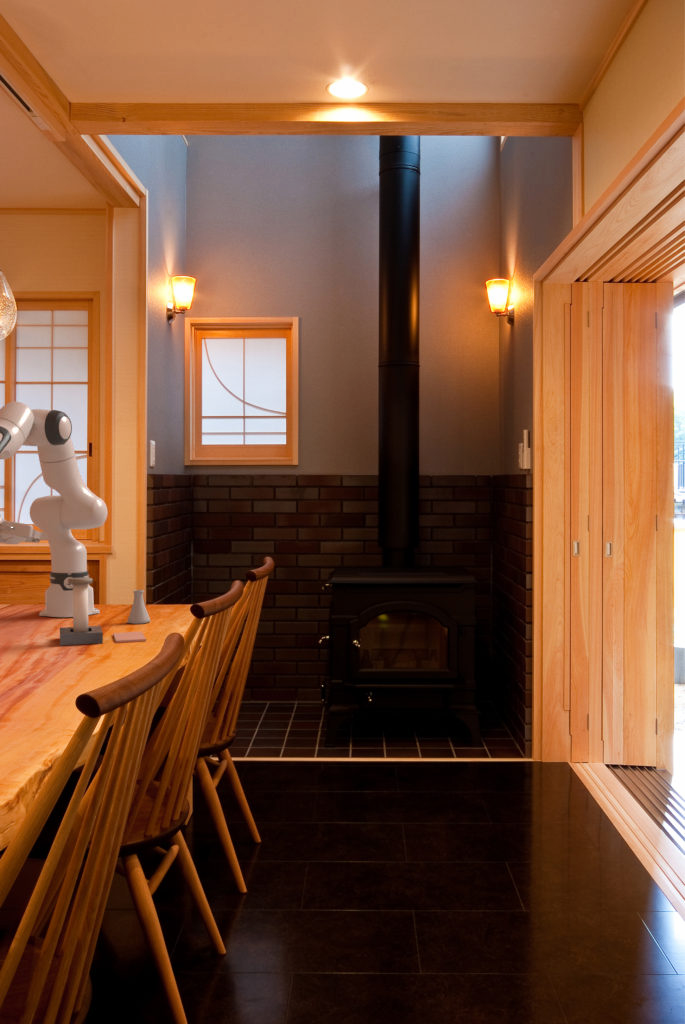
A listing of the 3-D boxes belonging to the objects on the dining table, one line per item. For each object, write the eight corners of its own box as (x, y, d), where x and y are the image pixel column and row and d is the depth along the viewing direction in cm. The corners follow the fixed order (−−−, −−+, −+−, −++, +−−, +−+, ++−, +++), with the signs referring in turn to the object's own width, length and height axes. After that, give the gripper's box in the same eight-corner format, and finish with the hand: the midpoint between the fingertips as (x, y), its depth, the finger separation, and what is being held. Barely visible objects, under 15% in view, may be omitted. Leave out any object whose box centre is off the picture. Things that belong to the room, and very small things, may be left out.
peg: (68, 639, 242) (67, 577, 241) (92, 638, 244) (91, 577, 243) (69, 643, 236) (68, 580, 235) (93, 642, 238) (92, 579, 237)
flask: (144, 624, 266) (144, 592, 265) (122, 624, 267) (122, 591, 267) (154, 621, 273) (154, 589, 272) (132, 620, 274) (132, 588, 274)
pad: (113, 635, 248) (113, 633, 248) (141, 633, 251) (141, 631, 251) (116, 642, 237) (116, 640, 237) (146, 641, 239) (146, 639, 239)
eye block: (59, 638, 243) (59, 627, 243) (100, 636, 247) (100, 625, 247) (60, 645, 233) (60, 634, 233) (102, 643, 236) (102, 632, 236)
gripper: (-2, 512, 222) (53, 523, 228) (-14, 520, 239) (37, 530, 246) (-7, 537, 221) (49, 547, 227) (-19, 543, 238) (33, 552, 245)
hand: (43, 538), depth 237 cm, fingers open, 8 cm apart
